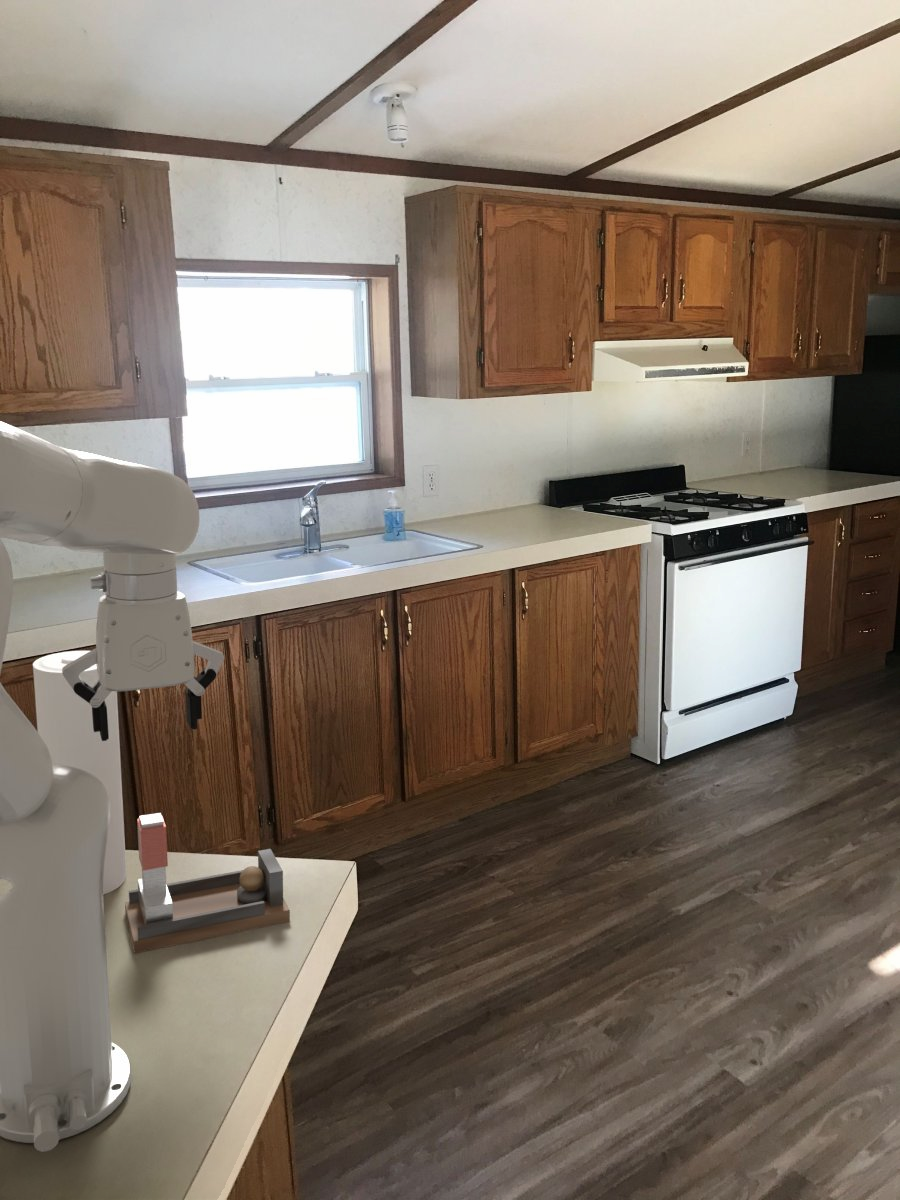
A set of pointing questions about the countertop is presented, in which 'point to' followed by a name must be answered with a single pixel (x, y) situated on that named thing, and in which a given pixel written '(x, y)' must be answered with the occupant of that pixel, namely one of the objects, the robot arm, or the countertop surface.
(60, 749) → the cylinder container
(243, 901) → the nutcracker board
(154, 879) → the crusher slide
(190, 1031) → the countertop surface
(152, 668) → the robot arm
